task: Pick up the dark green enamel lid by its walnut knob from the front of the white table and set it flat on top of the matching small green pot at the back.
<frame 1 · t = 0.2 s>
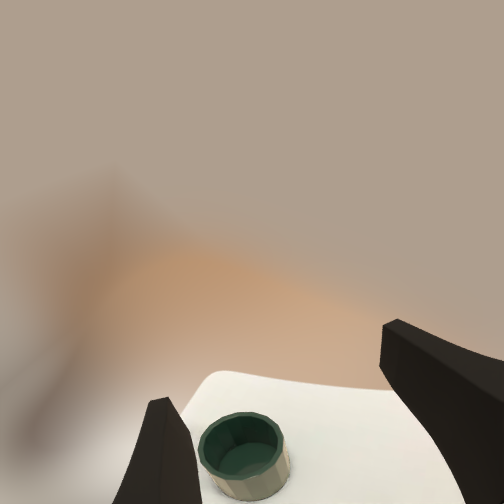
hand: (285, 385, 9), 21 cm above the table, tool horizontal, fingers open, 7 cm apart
pot: (251, 469, 26), on the table
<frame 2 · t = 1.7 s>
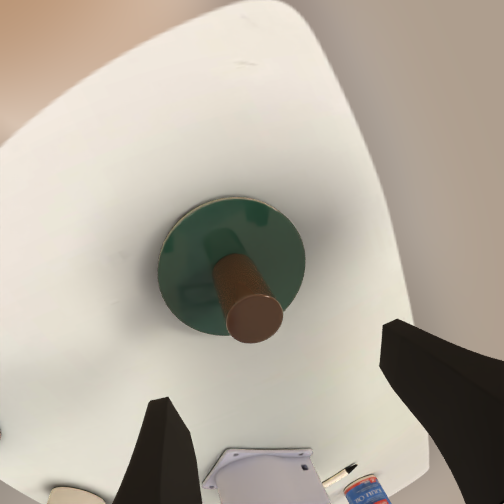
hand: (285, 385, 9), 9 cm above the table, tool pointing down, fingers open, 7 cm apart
candle: (78, 496, 24), on the table, touching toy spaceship
lid: (232, 270, 17), point 1 cm above the table
pen: (302, 499, 33), on the table
pill bottle: (358, 482, 37), on the table
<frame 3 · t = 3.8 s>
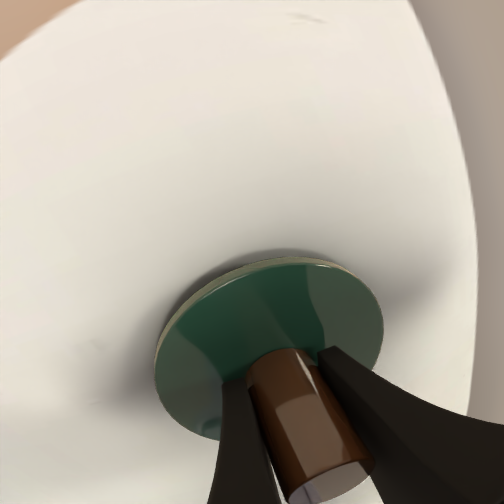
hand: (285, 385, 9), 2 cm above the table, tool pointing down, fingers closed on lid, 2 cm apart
lid: (275, 365, 10), point 1 cm above the table, touching gripper
when the fingers open (6 cm above the table, at t = 8.6 s): lid stays where it is, resting on pot.
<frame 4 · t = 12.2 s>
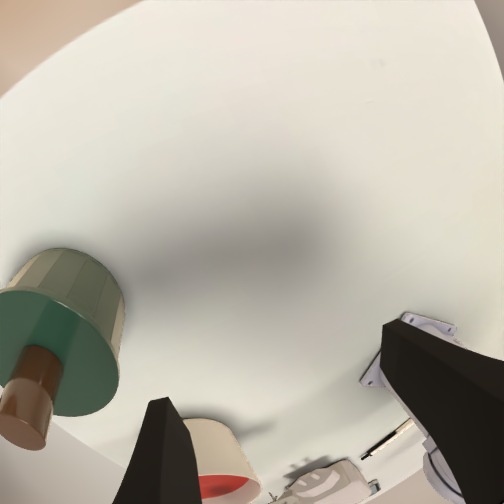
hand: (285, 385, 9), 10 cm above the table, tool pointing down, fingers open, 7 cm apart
charger: (317, 474, 34), on the table
candle: (193, 437, 24), on the table, touching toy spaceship
lid: (44, 357, 12), point 5 cm above the table, touching pot
pot: (69, 303, 17), on the table
smartphone: (340, 502, 42), on the table
pen: (420, 416, 33), point 1 cm above the table
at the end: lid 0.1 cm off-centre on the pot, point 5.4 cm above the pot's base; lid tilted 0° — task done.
